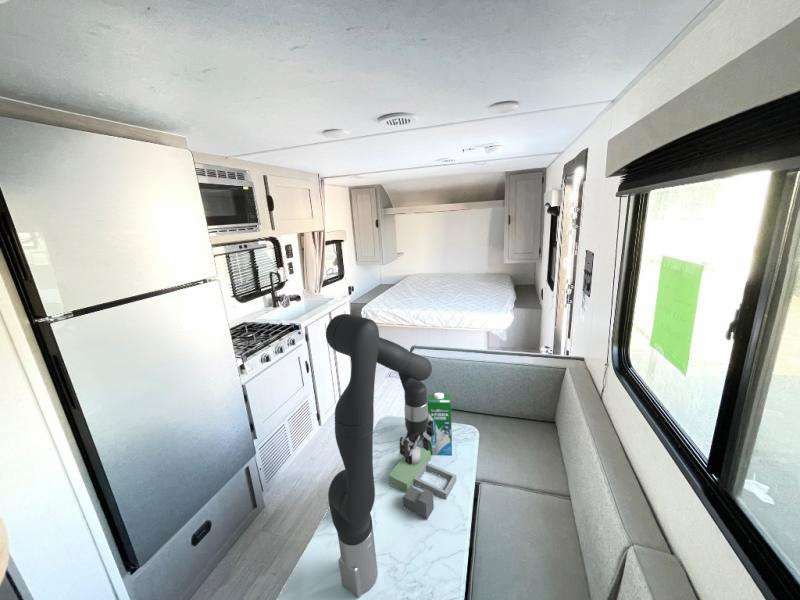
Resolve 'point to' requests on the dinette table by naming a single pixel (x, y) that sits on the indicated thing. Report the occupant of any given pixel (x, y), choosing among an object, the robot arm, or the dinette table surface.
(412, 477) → the multicoloured piece
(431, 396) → the milk carton
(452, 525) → the dinette table surface
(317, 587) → the dinette table surface
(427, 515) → the grey stepped block
